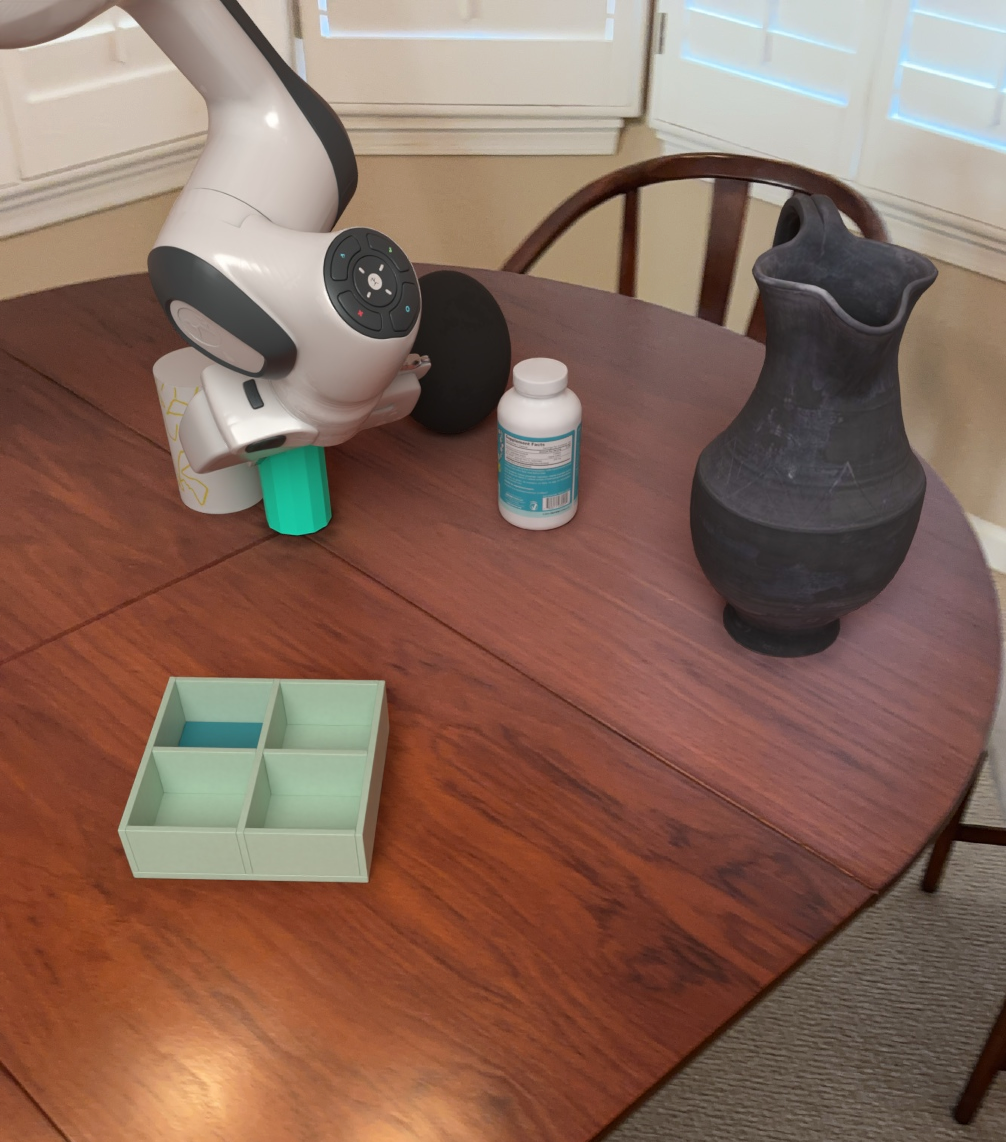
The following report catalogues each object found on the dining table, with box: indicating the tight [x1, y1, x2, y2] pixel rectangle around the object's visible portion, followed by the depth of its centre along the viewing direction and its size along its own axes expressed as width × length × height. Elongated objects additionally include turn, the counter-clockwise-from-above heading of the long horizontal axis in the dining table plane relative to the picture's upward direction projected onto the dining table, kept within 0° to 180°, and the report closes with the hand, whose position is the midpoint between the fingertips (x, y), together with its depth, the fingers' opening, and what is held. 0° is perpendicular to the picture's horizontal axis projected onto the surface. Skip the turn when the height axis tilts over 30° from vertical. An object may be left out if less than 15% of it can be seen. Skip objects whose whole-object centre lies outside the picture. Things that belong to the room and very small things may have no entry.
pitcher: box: [689, 192, 939, 658], centre depth 89 cm, size 17×21×30 cm
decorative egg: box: [408, 269, 512, 434], centre depth 115 cm, size 12×12×15 cm
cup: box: [152, 346, 263, 515], centre depth 108 cm, size 8×8×12 cm
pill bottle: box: [496, 357, 583, 531], centre depth 105 cm, size 8×7×14 cm
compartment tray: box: [117, 676, 390, 884], centre depth 83 cm, size 16×16×5 cm
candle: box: [258, 445, 332, 536], centre depth 105 cm, size 6×6×12 cm
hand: (285, 447), depth 105 cm, fingers closed on candle, 5 cm apart
